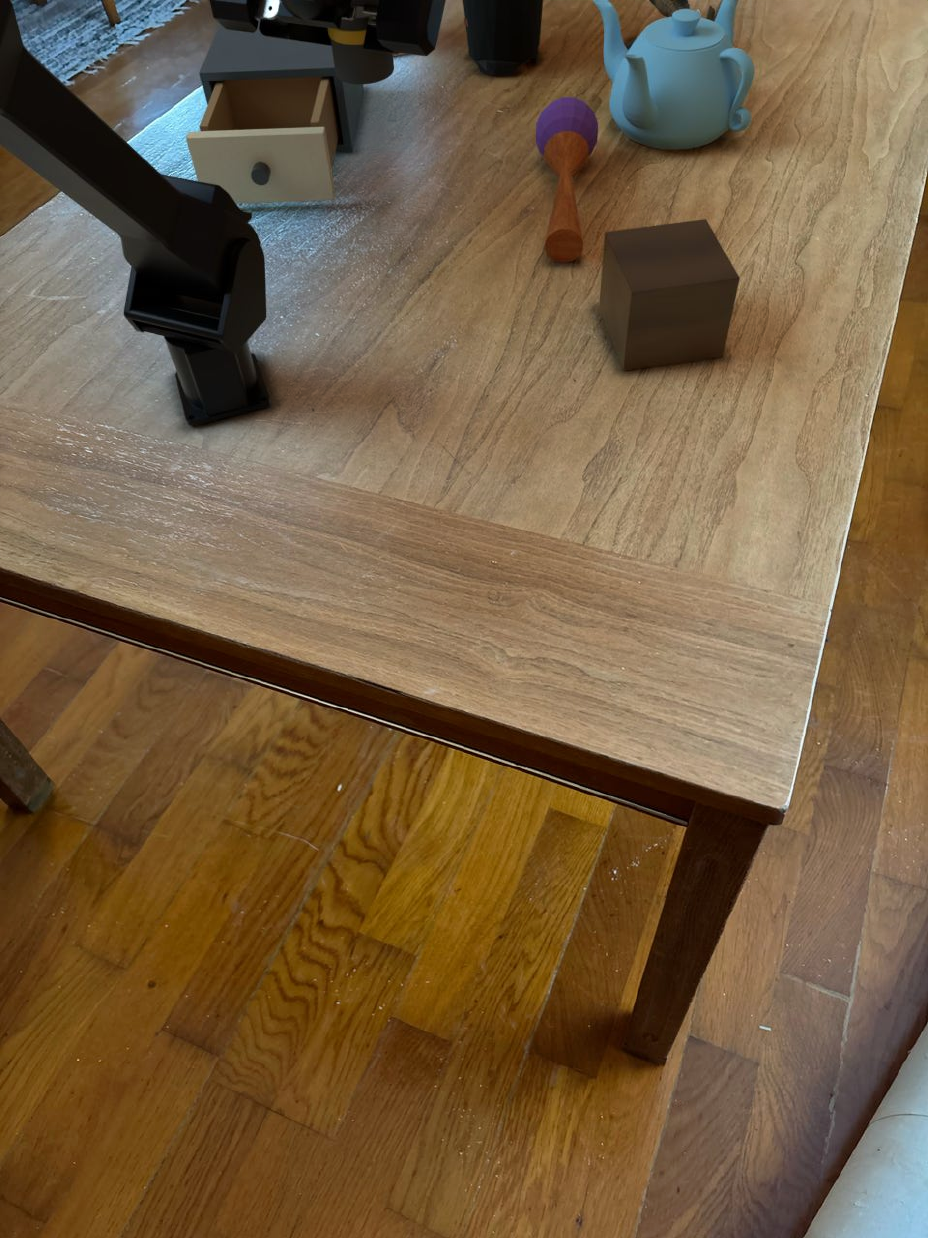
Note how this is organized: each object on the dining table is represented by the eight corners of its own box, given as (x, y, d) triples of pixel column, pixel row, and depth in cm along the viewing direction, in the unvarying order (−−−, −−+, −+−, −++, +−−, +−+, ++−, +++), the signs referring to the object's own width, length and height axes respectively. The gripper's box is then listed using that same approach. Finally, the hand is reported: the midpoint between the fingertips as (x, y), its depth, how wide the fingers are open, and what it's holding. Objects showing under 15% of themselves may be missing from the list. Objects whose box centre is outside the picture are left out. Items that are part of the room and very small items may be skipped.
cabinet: (352, 152, 95) (340, 66, 88) (220, 156, 96) (198, 72, 89) (363, 89, 103) (353, 7, 97) (242, 94, 104) (223, 12, 97)
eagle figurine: (720, 24, 106) (647, -3, 107) (729, -21, 99) (651, -49, 100) (691, 86, 106) (618, 58, 107) (698, 45, 99) (620, 16, 100)
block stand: (723, 357, 73) (740, 277, 68) (623, 371, 73) (631, 292, 67) (692, 297, 78) (706, 218, 72) (598, 310, 77) (604, 231, 72)
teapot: (761, 156, 91) (785, 41, 83) (606, 168, 91) (616, 53, 83) (725, 87, 100) (744, -24, 91) (585, 97, 100) (591, -12, 91)
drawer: (333, 207, 87) (321, 139, 82) (201, 211, 88) (182, 144, 83) (347, 134, 95) (337, 68, 90) (227, 139, 96) (210, 73, 91)
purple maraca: (523, 221, 79) (531, 90, 89) (535, 279, 84) (542, 149, 94) (594, 209, 77) (594, 77, 88) (602, 269, 82) (601, 138, 93)
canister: (402, 58, 80) (396, -8, 76) (386, 86, 78) (379, 19, 74) (344, 55, 81) (335, -10, 77) (326, 83, 78) (316, 17, 74)
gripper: (430, -187, 60) (496, -50, 75) (185, -202, 65) (291, -70, 80) (392, 0, 62) (463, 97, 77) (157, -28, 67) (266, 69, 82)
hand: (369, 44), depth 79 cm, fingers closed on canister, 5 cm apart
